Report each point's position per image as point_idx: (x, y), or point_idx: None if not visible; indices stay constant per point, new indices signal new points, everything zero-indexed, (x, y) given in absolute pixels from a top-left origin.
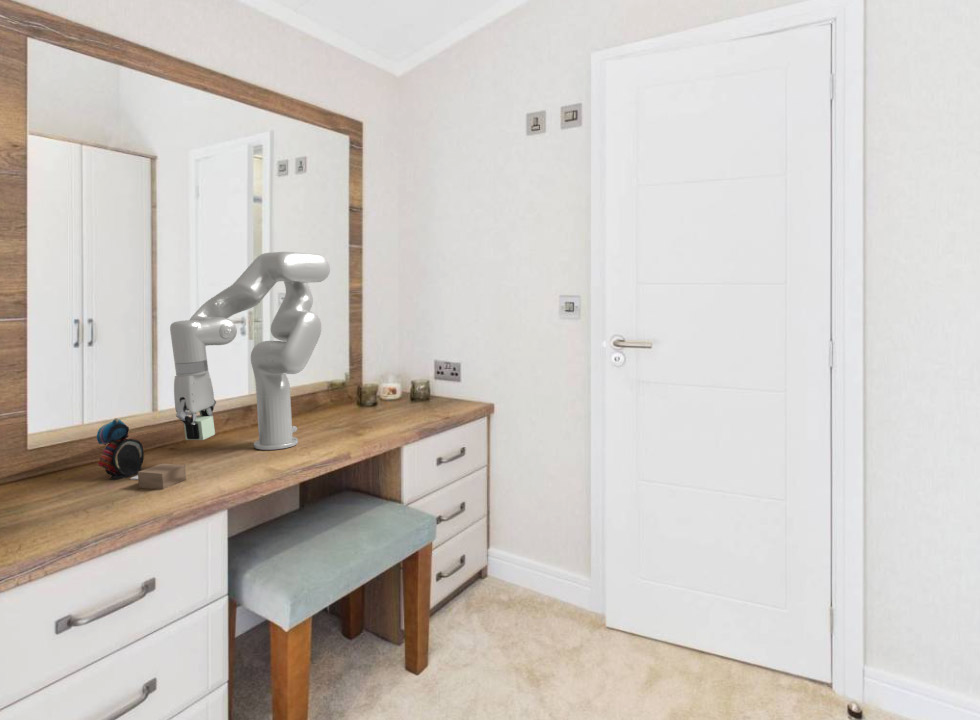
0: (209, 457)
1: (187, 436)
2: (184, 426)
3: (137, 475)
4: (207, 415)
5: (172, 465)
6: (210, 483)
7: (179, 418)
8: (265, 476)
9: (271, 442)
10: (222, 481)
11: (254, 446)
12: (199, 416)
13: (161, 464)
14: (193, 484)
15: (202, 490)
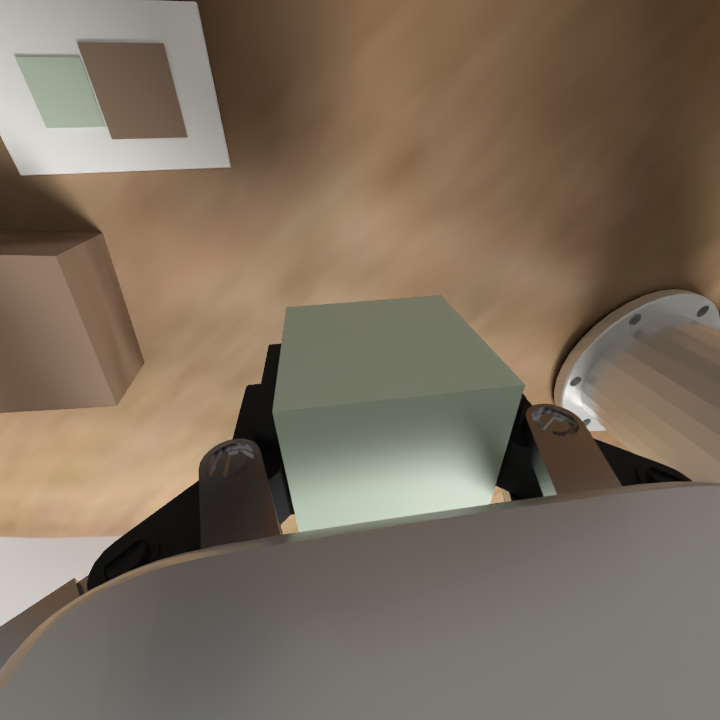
0: (482, 209)
1: (269, 356)
2: (277, 376)
3: (8, 5)
4: (508, 490)
5: (71, 355)
6: (160, 460)
7: (36, 611)
8: None
9: (589, 398)
10: (195, 474)
11: (604, 323)
12: (501, 431)
13: (40, 276)
14: (119, 423)
15: (90, 484)
